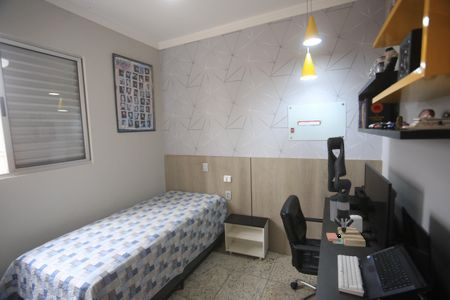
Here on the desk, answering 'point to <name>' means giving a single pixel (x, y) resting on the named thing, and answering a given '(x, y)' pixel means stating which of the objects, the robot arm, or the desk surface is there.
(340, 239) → the mat
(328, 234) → the card
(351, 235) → the deck
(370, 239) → the desk surface
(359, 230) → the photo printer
